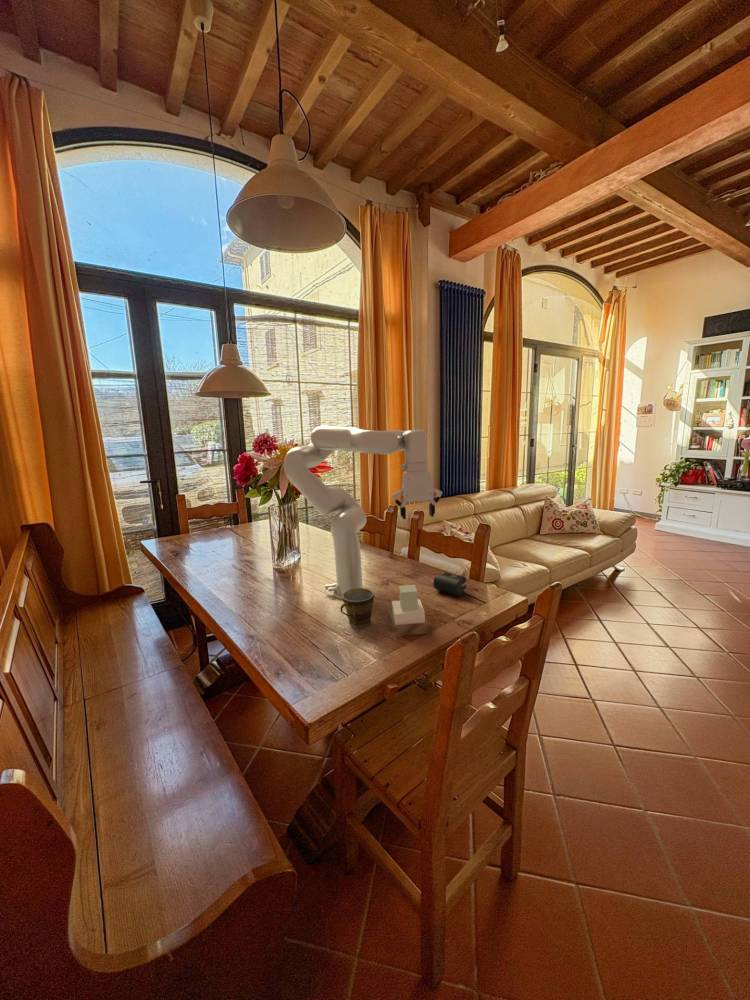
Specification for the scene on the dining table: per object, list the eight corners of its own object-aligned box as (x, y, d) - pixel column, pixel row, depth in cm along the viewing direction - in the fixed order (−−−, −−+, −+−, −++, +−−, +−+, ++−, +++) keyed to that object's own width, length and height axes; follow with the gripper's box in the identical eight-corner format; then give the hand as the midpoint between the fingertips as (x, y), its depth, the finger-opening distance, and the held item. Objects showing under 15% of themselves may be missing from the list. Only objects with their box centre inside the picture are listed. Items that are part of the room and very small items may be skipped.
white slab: (395, 625, 122) (394, 614, 121) (392, 611, 130) (391, 601, 130) (425, 622, 122) (424, 611, 121) (420, 609, 131) (419, 598, 130)
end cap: (433, 593, 149) (432, 575, 148) (443, 586, 154) (443, 570, 153) (457, 600, 142) (456, 582, 141) (467, 593, 148) (467, 575, 146)
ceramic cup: (358, 613, 136) (356, 585, 134) (381, 621, 130) (380, 592, 128) (331, 629, 126) (328, 600, 124) (354, 639, 120) (352, 608, 118)
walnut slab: (395, 638, 120) (394, 627, 120) (389, 621, 131) (388, 611, 131) (431, 634, 122) (430, 623, 121) (422, 617, 132) (421, 607, 132)
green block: (401, 611, 123) (400, 592, 121) (399, 603, 127) (398, 586, 126) (418, 609, 123) (417, 591, 122) (415, 602, 128) (414, 584, 127)
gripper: (392, 470, 130) (395, 522, 133) (444, 466, 132) (445, 517, 135) (388, 467, 137) (390, 516, 140) (438, 464, 139) (439, 512, 143)
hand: (417, 517), depth 138 cm, fingers open, 9 cm apart
